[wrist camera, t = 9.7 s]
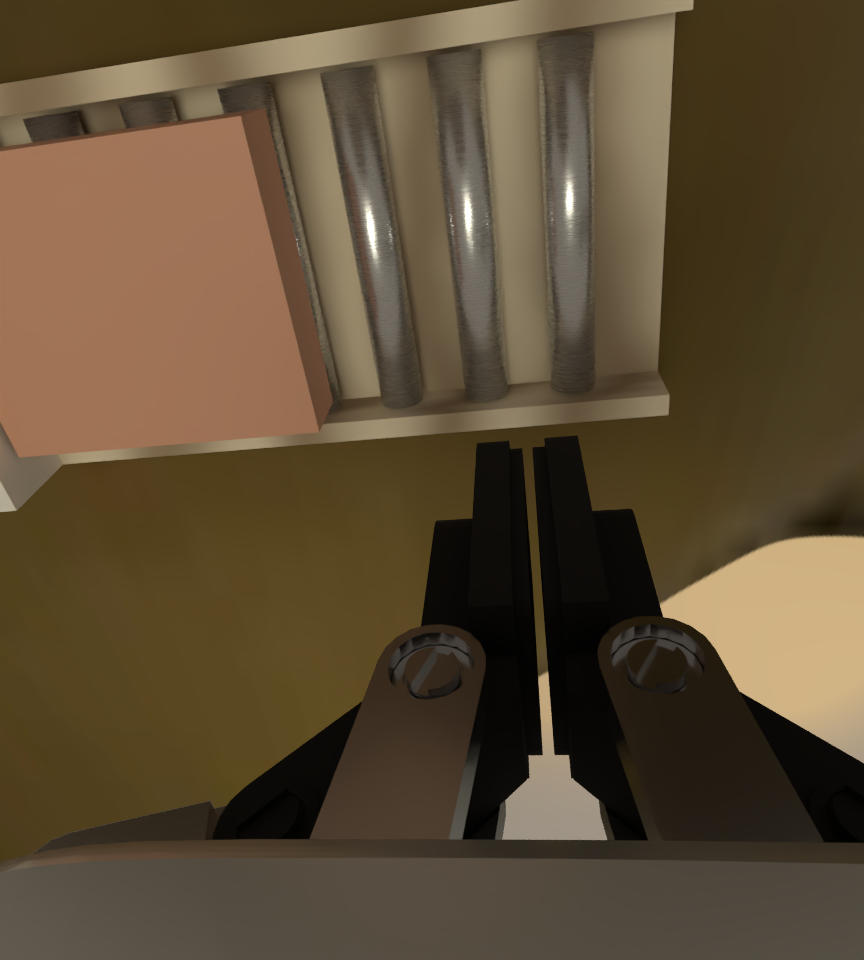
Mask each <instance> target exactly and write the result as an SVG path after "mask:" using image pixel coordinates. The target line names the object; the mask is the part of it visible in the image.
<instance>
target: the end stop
mask: <svg viewBox="0 0 864 960" xmlns="http://www.w3.org/2000/svg"><path fill="white" fill-rule="evenodd" d="M62 465H63V463H62V461H61V459H60V457H59V455H58V454H55V455H43V456H31V457H19V456H18V454H17V453H16V451H15V449H14V447H13V445H12V443H11V441H10V439H9V437H8V436H7V434H6V432H5V430H4V428H3V426H2V424H1V422H0V512H6V511H17V510H18V509H19V508H20V507H21V506H22V505H23V504H24V503H25V502H26V501H27V500H28V499H29V498H30V497H31V496H32V495H33V494H34V493H35V492H36V491H37V490H38V489H39V488H40V487H41V486H42V485H43V484H44V483H45V482H46V481H47V480H48V479H49V478H50V477H51V476H52V475H53V474H54V473H55V472H56V471H57V470H58V469H59V468H60V467H61V466H62Z"/></svg>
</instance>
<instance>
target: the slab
mask: <svg viewBox="0 0 864 960" xmlns="http://www.w3.org/2000/svg"><path fill="white" fill-rule="evenodd" d="M332 402H333V399H332V394H331V390H330V386H329V381H328V377H327V373H326V368H325V364H324V360H323V355H322V351H321V347H320V342H319V338H318V334H317V329H316V325H315V321H314V316H313V312H312V308H311V303H310V299H309V295H308V290H307V286H306V282H305V277H304V273H303V269H302V264H301V260H300V256H299V251H298V247H297V243H296V238H295V234H294V230H293V225H292V221H291V217H290V212H289V208H288V204H287V199H286V195H285V191H284V186H283V182H282V178H281V173H280V169H279V165H278V160H277V156H276V152H275V147H274V143H273V139H272V134H271V130H270V126H269V121H268V117H267V113H266V108H262V109H255V110H249V111H242V112H235V113H228V114H222V115H215V116H208V117H201V118H195V119H188V120H181V121H174V122H168V123H161V124H154V125H148V126H141V127H134V128H127V129H121V130H114V131H107V132H100V133H94V134H87V135H80V136H73V137H67V138H60V139H53V140H46V141H40V142H33V143H26V144H19V145H13V146H6V147H0V422H1V424H2V426H3V428H4V430H5V432H6V434H7V436H8V437H9V439H10V441H11V443H12V445H13V447H14V449H15V451H16V453H17V454H18V456H19V457H31V456H43V455H55V454H67V453H79V452H91V451H103V450H115V449H127V448H139V447H151V446H163V445H175V444H187V443H199V442H211V441H223V440H235V439H247V438H259V437H271V436H283V435H295V434H307V433H318V432H320V430H321V428H322V425H323V423H324V421H325V418H326V416H327V414H328V411H329V409H330V407H331V404H332Z"/></svg>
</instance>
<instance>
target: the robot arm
mask: <svg viewBox="0 0 864 960" xmlns="http://www.w3.org/2000/svg"><path fill="white" fill-rule="evenodd" d="M533 463H534V478H535V492H536V507H537V522H538V537H539V552H540V567H541V581H542V594H543V608H544V621H545V634H546V647H547V660H548V674H549V686H550V699H551V713H552V726H553V740H554V753H555V755H569V759H570V769H571V778H573V779H574V780H575V781H576V782H578V783H579V784H580V785H581V786H582V787H584V788H585V789H586V790H587V791H588V792H590V793H591V794H592V795H593V796H595V797H596V798H597V799H598V800H599V805H600V814H601V819H602V822H603V825H604V829H605V833H606V836H607V840H502V837H503V830H504V823H505V817H506V807H505V806H506V805H505V800H506V799H507V798H508V797H509V796H510V795H511V794H512V793H513V792H514V791H515V790H516V789H517V788H518V787H519V786H520V785H522V784H523V783H524V782H525V781H526V780H527V778H529V757H528V755H543V753H542V737H541V719H540V703H539V685H538V668H537V651H536V634H535V617H534V600H533V584H532V570H531V557H530V544H529V531H528V518H527V505H526V492H525V479H524V466H523V453H522V448H520V449H510V445H509V441H501V442H488V443H477V449H476V466H475V484H474V501H473V518H472V519H457V520H441V521H436V523H435V527H434V534H433V541H432V549H431V556H430V564H429V571H428V579H427V586H426V594H425V601H424V608H423V616H422V623H421V627H418V628H414V629H411V630H409V631H407V632H405V633H404V634H402V635H400V636H398V637H396V638H395V639H394V640H393V641H392V642H391V643H390V644H389V645H388V646H387V647H386V648H385V650H384V651H383V653H382V655H381V656H380V658H379V660H378V662H377V665H376V668H375V670H374V673H373V675H372V678H371V681H370V683H369V686H368V688H367V691H366V693H365V696H364V699H363V701H362V702H361V703H359V704H358V705H356V706H355V707H354V708H352V709H351V710H350V711H348V712H347V713H346V714H344V715H343V716H341V717H340V718H339V719H337V720H336V721H335V722H333V723H332V724H331V725H329V726H328V727H326V728H325V729H324V730H322V731H321V732H320V733H318V734H317V735H315V736H314V737H313V738H311V739H310V740H309V741H307V742H306V743H305V744H303V745H302V746H300V747H299V748H298V749H296V750H295V751H294V752H292V753H291V754H290V755H288V756H287V757H285V758H284V759H283V760H281V761H280V762H279V763H277V764H276V765H275V766H273V767H272V768H270V769H269V770H268V771H266V772H265V773H264V774H262V775H261V776H260V777H258V778H257V779H255V780H254V781H253V782H251V783H250V784H249V785H247V786H246V787H245V788H244V789H243V790H241V791H240V792H239V793H238V794H237V795H236V796H235V797H234V798H233V799H232V800H231V801H230V802H229V804H228V805H227V806H223V807H219V808H215V809H214V807H213V805H212V803H211V802H210V801H208V802H203V803H199V804H194V805H190V806H186V807H181V808H177V809H172V810H168V811H164V812H159V813H155V814H150V815H146V816H142V817H137V818H133V819H128V820H124V821H120V822H115V823H111V824H107V825H102V826H98V827H93V828H89V829H85V830H80V831H76V832H71V833H69V834H66V835H64V836H61V837H58V838H56V839H53V840H51V841H50V842H48V843H47V844H45V845H44V846H42V847H41V848H40V849H38V850H37V851H35V852H34V853H33V854H30V855H26V856H22V857H17V858H13V859H9V860H5V861H1V862H0V960H864V763H862V762H860V761H859V760H857V759H855V758H853V757H852V756H850V755H848V754H846V753H845V752H843V751H841V750H840V749H838V748H836V747H834V746H832V745H831V744H829V743H828V742H826V741H824V740H822V739H821V738H819V737H817V736H815V735H814V734H812V733H810V732H809V731H807V730H805V729H803V728H801V727H800V726H798V725H796V724H795V723H793V722H791V721H789V720H788V719H786V718H784V717H782V716H781V715H779V714H777V713H776V712H774V711H772V710H770V709H769V708H767V707H765V706H763V705H762V704H760V703H758V702H757V701H754V700H753V699H751V698H750V697H748V696H746V695H744V694H743V693H741V692H739V690H738V688H737V687H736V685H735V683H734V682H733V680H732V678H731V676H730V674H729V673H728V671H727V669H726V667H725V665H724V664H723V662H722V660H721V658H720V657H719V655H718V653H717V651H716V649H715V648H714V647H713V646H712V644H711V643H710V642H709V641H708V640H707V638H706V637H705V636H704V635H703V634H701V633H700V632H698V631H697V630H696V629H694V628H693V627H691V626H689V625H687V624H684V623H682V622H680V621H677V620H675V619H670V618H664V617H663V615H662V612H661V608H660V604H659V601H658V597H657V594H656V590H655V587H654V583H653V579H652V576H651V572H650V569H649V565H648V562H647V558H646V554H645V551H644V547H643V544H642V540H641V537H640V533H639V530H638V526H637V522H636V519H635V516H634V513H633V510H632V509H620V510H603V511H592V507H591V502H590V497H589V492H588V487H587V482H586V476H585V471H584V466H583V461H582V456H581V451H580V445H579V440H578V436H566V437H553V438H545V447H533Z"/></svg>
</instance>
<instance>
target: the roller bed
mask: <svg viewBox="0 0 864 960" xmlns="http://www.w3.org/2000/svg"><path fill="white" fill-rule="evenodd" d="M686 10H693V0H519V1H512V2H506V3H500V4H494V5H488V6H481V7H475V8H469V9H463V10H457V11H450V12H444V13H438V14H432V15H426V16H419V17H413V18H407V19H401V20H395V21H389V22H382V23H376V24H370V25H364V26H358V27H351V28H345V29H339V30H333V31H327V32H320V33H314V34H308V35H302V36H296V37H289V38H283V39H277V40H271V41H265V42H259V43H252V44H246V45H240V46H234V47H228V48H221V49H215V50H209V51H203V52H197V53H190V54H184V55H178V56H172V57H166V58H159V59H153V60H147V61H141V62H135V63H129V64H122V65H116V66H110V67H104V68H98V69H91V70H85V71H79V72H73V73H67V74H60V75H54V76H48V77H42V78H36V79H29V80H23V81H17V82H11V83H5V84H0V147H6V146H13V145H19V144H26V143H32V142H31V140H30V137H29V135H28V132H27V130H26V127H25V125H24V122H23V120H22V119H26V118H32V117H38V116H44V115H51V114H57V113H63V112H70V111H77V114H78V116H79V119H80V122H81V125H82V127H83V130H84V133H85V135H87V134H94V133H100V132H107V131H114V130H121V129H126V127H125V124H124V121H123V118H122V115H121V112H120V109H119V106H118V104H124V103H129V102H136V101H142V100H148V99H154V98H161V97H168V96H171V98H172V101H173V104H174V108H175V111H176V115H177V118H178V121H181V120H188V119H195V118H201V117H208V116H215V115H222V114H223V110H222V106H221V103H220V99H219V95H218V91H217V89H221V88H227V87H233V86H239V85H246V84H252V83H259V82H266V81H270V84H271V88H272V93H273V97H274V102H275V106H276V111H277V115H278V120H279V124H280V129H281V133H282V138H283V142H284V147H285V151H286V155H287V160H288V164H289V169H290V173H291V178H292V182H293V187H294V191H295V196H296V200H297V205H298V209H299V214H300V218H301V223H302V227H303V232H304V236H305V241H306V245H307V249H308V254H309V258H310V263H311V267H312V272H313V276H314V281H315V285H316V290H317V294H318V299H319V303H320V308H321V312H322V317H323V321H324V326H325V330H326V335H327V339H328V343H329V348H330V352H331V357H332V361H333V366H334V370H335V375H336V379H337V384H338V388H339V393H340V397H341V402H342V404H341V406H340V407H339V408H338V409H337V410H335V411H334V412H331V413H329V414H327V416H326V418H325V421H324V423H323V425H322V428H321V430H320V432H318V433H307V434H295V435H283V436H271V437H259V438H247V439H235V440H223V441H211V442H199V443H187V444H175V445H163V446H151V447H139V448H127V449H115V450H103V451H91V452H79V453H67V454H58V455H59V457H60V459H61V461H62V463H63V464H73V463H85V462H98V461H110V460H122V459H134V458H147V457H159V456H171V455H184V454H196V453H208V452H220V451H233V450H245V449H257V448H269V447H282V446H294V445H306V444H319V443H331V442H343V441H355V440H368V439H380V438H392V437H404V436H417V435H429V434H441V433H454V432H466V431H478V430H490V429H503V428H515V427H527V426H540V425H552V424H564V423H576V422H589V421H601V420H613V419H625V418H638V417H650V416H662V415H668V413H669V396H670V395H669V393H668V391H667V389H666V387H665V385H664V383H663V381H662V379H661V377H660V375H659V373H658V356H659V336H660V316H661V295H662V275H663V255H664V235H665V214H666V194H667V174H668V153H669V133H670V113H671V93H672V72H673V52H674V32H675V12H680V11H686ZM592 31H594V151H595V386H594V387H593V388H592V389H590V390H588V391H586V392H582V393H577V394H565V393H560V392H557V391H555V390H553V389H552V387H551V371H550V347H549V323H548V299H547V274H546V250H545V226H544V202H543V177H542V153H541V129H540V105H539V80H538V56H537V40H540V39H546V38H552V37H558V36H565V35H571V34H578V33H585V32H592ZM474 49H481V55H482V68H483V80H484V93H485V106H486V119H487V131H488V144H489V157H490V170H491V182H492V195H493V208H494V220H495V233H496V246H497V259H498V271H499V284H500V297H501V310H502V322H503V335H504V348H505V361H506V373H507V386H508V392H507V393H506V395H504V396H503V397H501V398H499V399H496V400H492V401H484V402H480V401H473V400H470V399H468V398H467V397H466V395H465V388H464V379H463V371H462V362H461V353H460V345H459V336H458V327H457V319H456V310H455V301H454V293H453V284H452V275H451V267H450V258H449V249H448V241H447V232H446V223H445V215H444V206H443V197H442V189H441V180H440V171H439V163H438V154H437V146H436V137H435V128H434V120H433V111H432V102H431V94H430V85H429V76H428V68H427V59H426V57H429V56H435V55H441V54H447V53H454V52H460V51H467V50H474ZM370 65H373V68H374V75H375V81H376V88H377V94H378V101H379V108H380V114H381V121H382V127H383V134H384V141H385V147H386V154H387V160H388V167H389V174H390V180H391V187H392V193H393V200H394V206H395V213H396V220H397V226H398V233H399V239H400V246H401V253H402V259H403V266H404V272H405V279H406V285H407V292H408V299H409V305H410V312H411V318H412V325H413V332H414V338H415V345H416V351H417V358H418V365H419V371H420V378H421V384H422V391H423V399H422V401H421V402H419V403H418V404H416V405H414V406H411V407H408V408H403V409H390V408H387V407H385V406H383V405H382V401H381V396H380V390H379V385H378V380H377V374H376V369H375V364H374V358H373V353H372V348H371V343H370V337H369V332H368V327H367V321H366V316H365V311H364V305H363V300H362V295H361V290H360V284H359V279H358V274H357V268H356V263H355V258H354V252H353V247H352V242H351V237H350V231H349V226H348V221H347V215H346V210H345V205H344V199H343V194H342V189H341V184H340V178H339V173H338V168H337V162H336V157H335V152H334V146H333V141H332V136H331V131H330V125H329V120H328V115H327V109H326V104H325V99H324V93H323V88H322V83H321V77H320V73H325V72H331V71H337V70H343V69H350V68H356V67H363V66H370Z"/></svg>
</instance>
